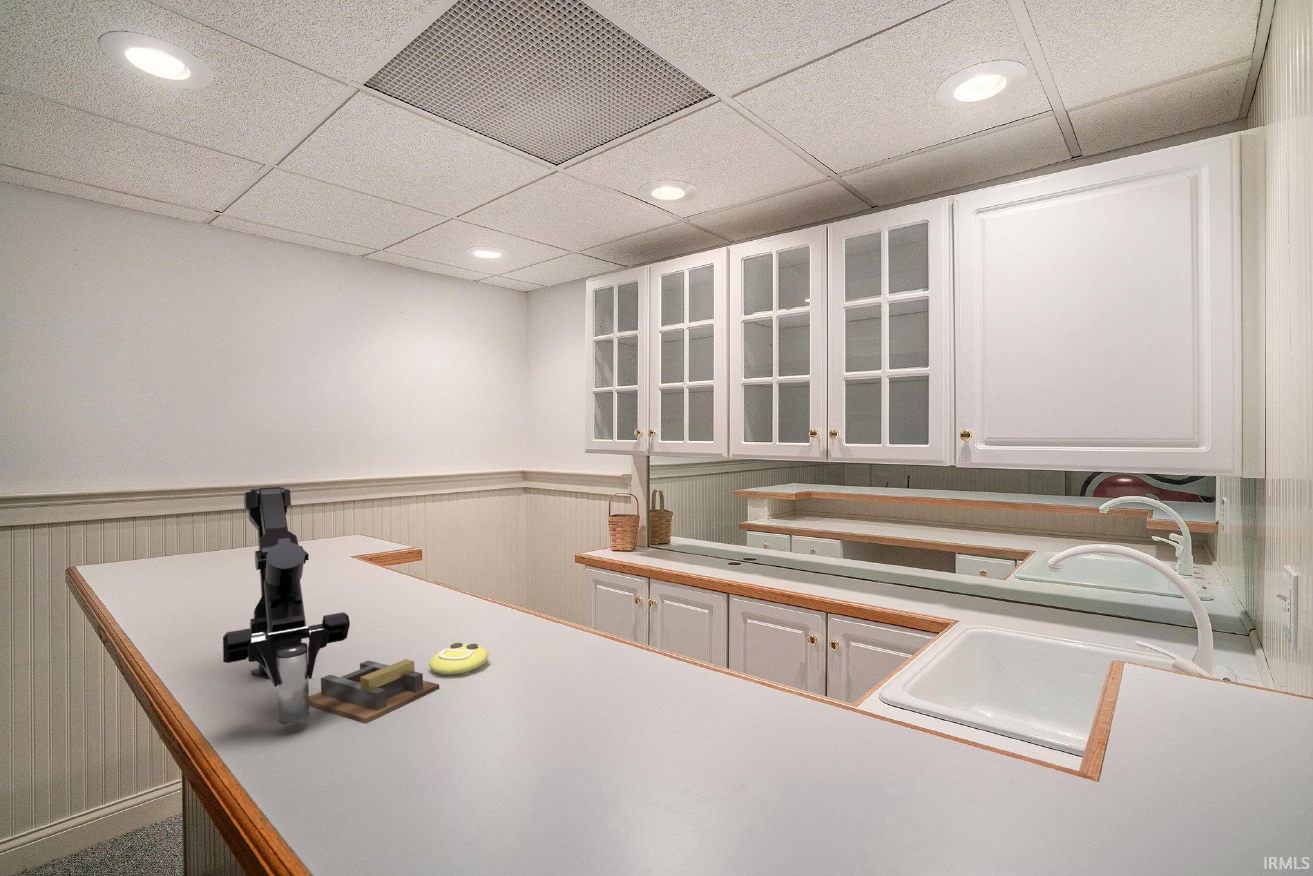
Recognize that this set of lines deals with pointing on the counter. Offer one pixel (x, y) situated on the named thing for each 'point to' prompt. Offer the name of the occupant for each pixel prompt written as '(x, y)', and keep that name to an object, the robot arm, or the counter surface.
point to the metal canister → (292, 683)
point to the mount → (368, 693)
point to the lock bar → (386, 674)
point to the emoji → (458, 659)
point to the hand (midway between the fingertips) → (293, 681)
